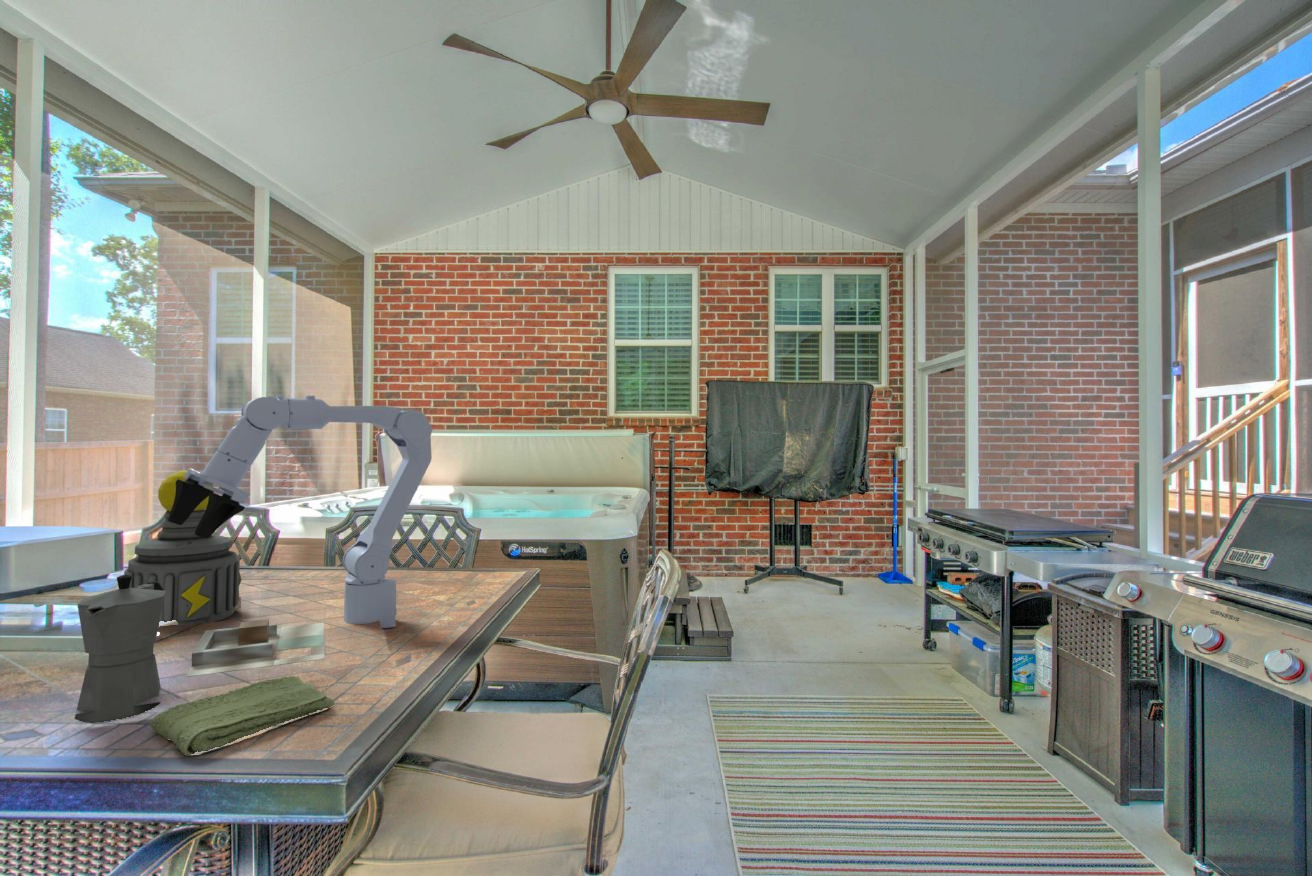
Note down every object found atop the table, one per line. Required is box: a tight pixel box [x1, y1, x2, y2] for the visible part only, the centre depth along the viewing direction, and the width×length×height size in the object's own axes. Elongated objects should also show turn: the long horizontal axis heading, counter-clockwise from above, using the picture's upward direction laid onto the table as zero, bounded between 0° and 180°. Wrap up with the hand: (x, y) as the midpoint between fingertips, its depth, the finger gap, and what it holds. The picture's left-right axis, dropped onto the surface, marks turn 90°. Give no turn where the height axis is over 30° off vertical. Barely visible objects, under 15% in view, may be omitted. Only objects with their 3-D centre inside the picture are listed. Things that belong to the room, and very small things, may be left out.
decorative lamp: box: [123, 469, 242, 627], centre depth 124 cm, size 19×19×30 cm
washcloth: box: [150, 675, 335, 756], centre depth 81 cm, size 13×18×3 cm
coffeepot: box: [74, 574, 166, 724], centre depth 84 cm, size 15×9×18 cm, turn 13°
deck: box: [185, 622, 326, 678], centre depth 104 cm, size 18×22×4 cm
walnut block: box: [238, 618, 270, 646], centre depth 104 cm, size 4×4×4 cm
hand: (187, 529), depth 103 cm, fingers open, 7 cm apart
